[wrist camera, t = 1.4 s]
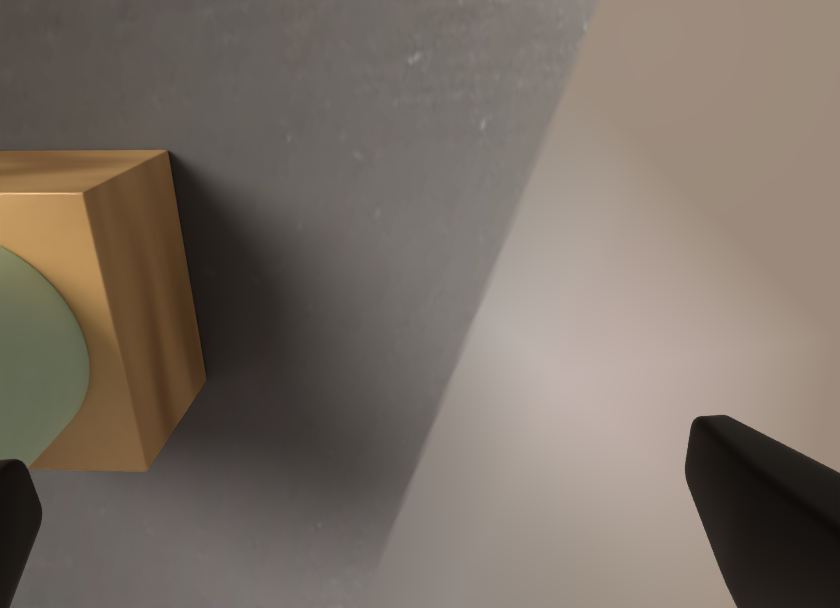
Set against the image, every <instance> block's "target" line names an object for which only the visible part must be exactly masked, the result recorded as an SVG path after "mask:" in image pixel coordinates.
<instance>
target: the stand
mask: <svg viewBox="0 0 840 608" xmlns="http://www.w3.org/2000/svg"><path fill="white" fill-rule="evenodd" d="M0 246H1V247H3V248H5V249H7V250H9V251H11V252H12V253H14V254H15V255H17V256H18V257H20V258H21V259H23V260H24V261H26V262H27V263H28V264H30V265H31V266H32V267H33V268H34V269H36V270H37V271H38V272H39V273H40V274H42V275H43V276H44V277H45V278H46V279H47V280H48V281H49V282H50V284H51V285H52V286H53V287H54V288H55V289H56V290H57V291H58V293H59V294H60V295H61V296H62V298H63V299H64V300H65V301H66V303H67V304H68V306H69V308H70V309H71V311H72V312H73V314H74V316H75V318H76V320H77V322H78V324H79V326H80V328H81V330H82V333H83V336H84V339H85V342H86V345H87V350H88V355H89V364H90V376H89V385H88V390H87V393H86V396H85V400H84V402H83V404H82V406H81V408H80V410H79V411H78V413H77V414H76V415H75V417H74V418H73V419H72V421H71V422H70V423H69V424H68V425H67V426H66V427H65V428H64V429H63V430H62V432H61V433H60V434H59V435H58V436H57V437H56V438H55V439H54V440H53V441H52V442H51V444H50V445H49V446H48V447H47V448H46V449H45V450H44V451H43V452H42V453H41V454H40V456H39V457H38V458H37V459H36V460H35V461H34V462H33V463H32V464H31V465H30V466H29V467H28V469H29V470H85V471H141V472H146V471H147V470H148V469H149V467H150V466H151V464H152V463H153V461H154V460H155V458H156V457H157V455H158V454H159V452H160V451H161V449H162V448H163V446H164V445H165V443H166V441H167V440H168V438H169V437H170V435H171V434H172V432H173V431H174V429H175V428H176V426H177V425H178V423H179V422H180V420H181V419H182V417H183V416H184V414H185V413H186V411H187V409H188V408H189V406H190V405H191V403H192V402H193V400H194V399H195V397H196V396H197V394H198V393H199V391H200V390H201V388H202V387H203V385H204V384H205V382H206V380H207V378H206V373H205V367H204V361H203V355H202V349H201V343H200V337H199V331H198V325H197V320H196V314H195V308H194V302H193V296H192V290H191V284H190V278H189V273H188V267H187V261H186V255H185V249H184V243H183V237H182V231H181V225H180V220H179V214H178V208H177V202H176V196H175V190H174V184H173V178H172V173H171V167H170V161H169V155H168V151H167V150H49V151H0Z"/></svg>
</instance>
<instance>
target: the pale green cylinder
mask: <svg viewBox="0 0 840 608" xmlns="http://www.w3.org/2000/svg"><path fill="white" fill-rule="evenodd" d="M89 376H90V364H89V355H88V350H87V345H86V342H85V339H84V336H83V333H82V330H81V328H80V326H79V324H78V322H77V320H76V318H75V316H74V314H73V312H72V311H71V309H70V308H69V306H68V304H67V303H66V301H65V300H64V299H63V298H62V296H61V295H60V294H59V293H58V291H57V290H56V289H55V288H54V287H53V286H52V285H51V284H50V282H49V281H48V280H47V279H46V278H45V277H44V276H43V275H42V274H40V273H39V272H38V271H37V270H36V269H34V268H33V267H32V266H31V265H30V264H28V263H27V262H26V261H24V260H23V259H21V258H20V257H18V256H17V255H15V254H14V253H12V252H11V251H9V250H7V249H5V248H3V247H1V246H0V460H4V459H18V460H21V461H22V462H23V463H24V464H25V465H26V466H27V468H28V467H29V466H30V465H31V464H32V463H33V462H34V461H35V460H36V459H37V458H38V457H39V456H40V454H41V453H42V452H43V451H44V450H45V449H46V448H47V447H48V446H49V445H50V444H51V442H52V441H53V440H54V439H55V438H56V437H57V436H58V435H59V434H60V433H61V432H62V430H63V429H64V428H65V427H66V426H67V425H68V424H69V423H70V422H71V421H72V419H73V418H74V417H75V415H76V414H77V413H78V411H79V410H80V408H81V406H82V404H83V402H84V400H85V396H86V393H87V390H88V385H89Z"/></svg>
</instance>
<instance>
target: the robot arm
mask: <svg viewBox="0 0 840 608" xmlns="http://www.w3.org/2000/svg"><path fill="white" fill-rule="evenodd" d="M685 475H686V480H687V484H688V487H689V489H690V492H691V495H692V497H693V500H694V502H695V505H696V507H697V510H698V513H699V516H700V518H701V521H702V523H703V526H704V529H705V531H706V534H707V536H708V539H709V542H710V544H711V547H712V550H713V552H714V555H715V558H716V560H717V563H718V565H719V568H720V570H721V573H722V575H723V578H724V580H725V583H726V585H727V587H728V589H729V591H730V593H731V595H732V597H733V600H734V602H735V604H736V605H737V608H840V473H839V472H837V471H835V470H833V469H831V468H829V467H827V466H825V465H823V464H821V463H819V462H817V461H815V460H813V459H811V458H810V457H807V456H805V455H804V454H802V453H800V452H797V451H796V450H794V449H792V448H790V447H788V446H786V445H784V444H782V443H780V442H778V441H776V440H774V439H772V438H770V437H768V436H766V435H764V434H762V433H760V432H758V431H756V430H755V429H753V428H751V427H748V426H747V425H745V424H742V423H741V422H739V421H737V420H735V419H733V418H731V417H729V416H726V415H714V416H700V417H697V418H696V419H694V421H693V423H692V425H691V430H690V436H689V443H688V449H687V456H686V463H685ZM41 520H42V507H41V503H40V501H39V498H38V495H37V493H36V490H35V487H34V484H33V482H32V479H31V476H30V474H29V471H28V468H27V466H26V465H25V464H24V463H23V462H22V461H21V460H18V459H4V460H0V608H9V607H10V605H11V602H12V599H13V597H14V594H15V591H16V589H17V586H18V584H19V581H20V578H21V576H22V573H23V570H24V568H25V565H26V562H27V560H28V557H29V554H30V552H31V549H32V547H33V544H34V541H35V539H36V536H37V533H38V531H39V528H40V525H41Z"/></svg>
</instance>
